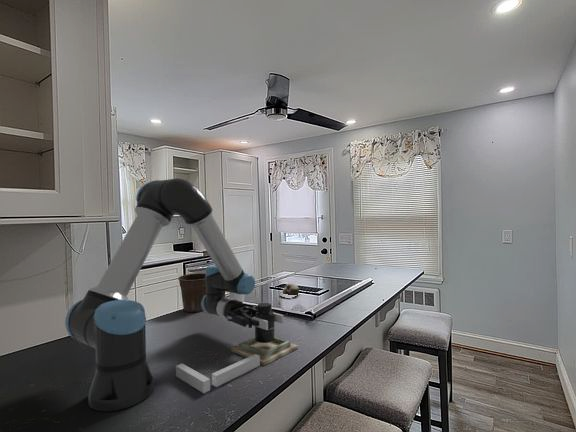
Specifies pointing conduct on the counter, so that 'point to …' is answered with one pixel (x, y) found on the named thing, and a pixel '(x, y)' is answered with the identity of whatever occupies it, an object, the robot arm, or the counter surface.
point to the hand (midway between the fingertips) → (275, 322)
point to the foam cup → (237, 296)
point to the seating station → (265, 349)
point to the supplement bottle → (268, 315)
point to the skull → (291, 289)
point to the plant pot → (192, 291)
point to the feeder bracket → (216, 373)
